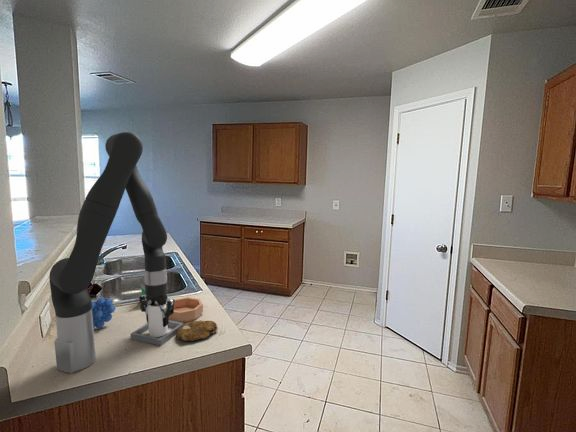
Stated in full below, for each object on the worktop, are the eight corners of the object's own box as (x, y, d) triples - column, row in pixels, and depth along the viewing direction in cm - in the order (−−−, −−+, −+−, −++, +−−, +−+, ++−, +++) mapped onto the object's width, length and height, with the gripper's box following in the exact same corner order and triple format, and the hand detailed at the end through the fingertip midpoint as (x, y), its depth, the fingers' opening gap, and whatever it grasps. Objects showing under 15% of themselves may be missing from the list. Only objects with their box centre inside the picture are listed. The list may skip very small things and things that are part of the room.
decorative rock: (211, 323, 126) (173, 335, 117) (210, 314, 125) (172, 325, 117) (222, 335, 117) (182, 348, 108) (222, 324, 116) (181, 337, 108)
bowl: (189, 325, 123) (188, 314, 122) (159, 319, 127) (158, 308, 126) (208, 310, 136) (208, 300, 136) (180, 305, 140) (180, 295, 140)
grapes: (113, 319, 126) (111, 291, 124) (118, 325, 121) (116, 296, 119) (78, 329, 118) (76, 298, 116) (82, 336, 113) (80, 304, 112)
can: (161, 339, 113) (159, 307, 111) (145, 336, 114) (143, 305, 112) (171, 330, 119) (170, 300, 117) (156, 328, 120) (154, 298, 119)
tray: (161, 345, 109) (160, 340, 108) (130, 339, 112) (130, 333, 112) (184, 328, 121) (183, 323, 121) (155, 322, 125) (155, 317, 124)
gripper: (132, 281, 112) (134, 325, 115) (165, 287, 108) (167, 332, 110) (147, 275, 119) (148, 316, 122) (179, 280, 115) (180, 322, 118)
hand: (157, 324), depth 116 cm, fingers closed on can, 6 cm apart
